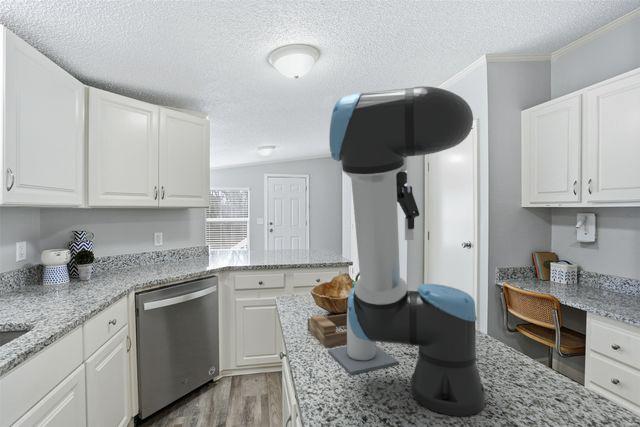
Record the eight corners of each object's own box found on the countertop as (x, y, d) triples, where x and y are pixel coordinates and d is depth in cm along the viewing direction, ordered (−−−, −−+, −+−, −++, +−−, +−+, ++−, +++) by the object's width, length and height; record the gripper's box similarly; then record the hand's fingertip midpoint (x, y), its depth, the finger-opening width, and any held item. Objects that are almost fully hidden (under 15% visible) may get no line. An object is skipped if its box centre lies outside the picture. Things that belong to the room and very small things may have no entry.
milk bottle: (375, 362, 87) (374, 285, 86) (345, 360, 88) (344, 284, 88) (376, 350, 94) (375, 279, 94) (348, 348, 96) (348, 278, 95)
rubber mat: (398, 364, 87) (398, 361, 87) (350, 375, 82) (350, 372, 82) (370, 344, 100) (370, 341, 100) (327, 352, 95) (327, 349, 95)
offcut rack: (373, 339, 104) (373, 313, 104) (326, 347, 98) (326, 320, 98) (350, 322, 119) (349, 300, 119) (307, 329, 113) (307, 306, 113)
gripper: (431, 168, 98) (431, 240, 98) (382, 175, 121) (383, 234, 121) (410, 167, 95) (411, 242, 95) (364, 174, 118) (365, 235, 118)
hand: (395, 237), depth 108 cm, fingers open, 13 cm apart
